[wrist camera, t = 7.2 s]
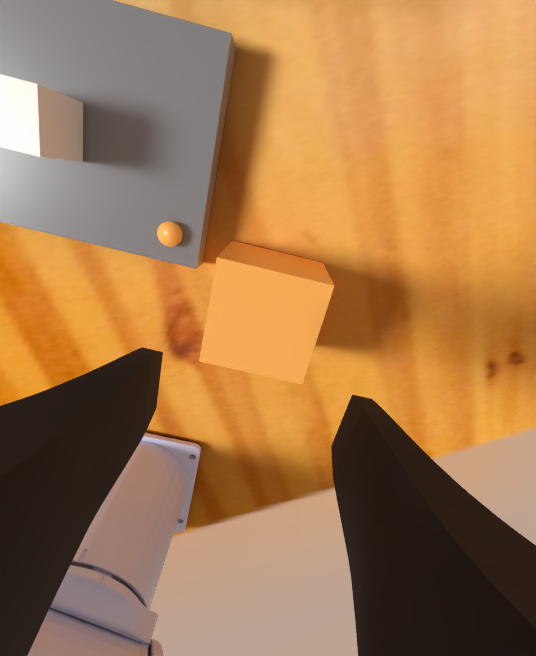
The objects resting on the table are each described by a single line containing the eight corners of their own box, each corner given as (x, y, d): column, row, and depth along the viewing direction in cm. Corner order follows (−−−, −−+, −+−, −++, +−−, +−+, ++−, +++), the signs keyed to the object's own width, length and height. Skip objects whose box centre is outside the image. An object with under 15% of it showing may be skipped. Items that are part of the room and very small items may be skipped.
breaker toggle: (83, 161, 16) (40, 156, 13) (39, 150, 16) (-13, 143, 13) (83, 102, 15) (37, 83, 12) (37, 90, 15) (-20, 69, 12)
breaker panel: (202, 262, 19) (194, 270, 17) (-12, 211, 18) (-43, 213, 17) (236, 47, 15) (230, 29, 13) (-37, -29, 14) (-81, -58, 13)
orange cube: (298, 343, 21) (302, 384, 16) (216, 324, 20) (199, 361, 16) (322, 262, 19) (334, 285, 14) (232, 240, 18) (216, 257, 14)
